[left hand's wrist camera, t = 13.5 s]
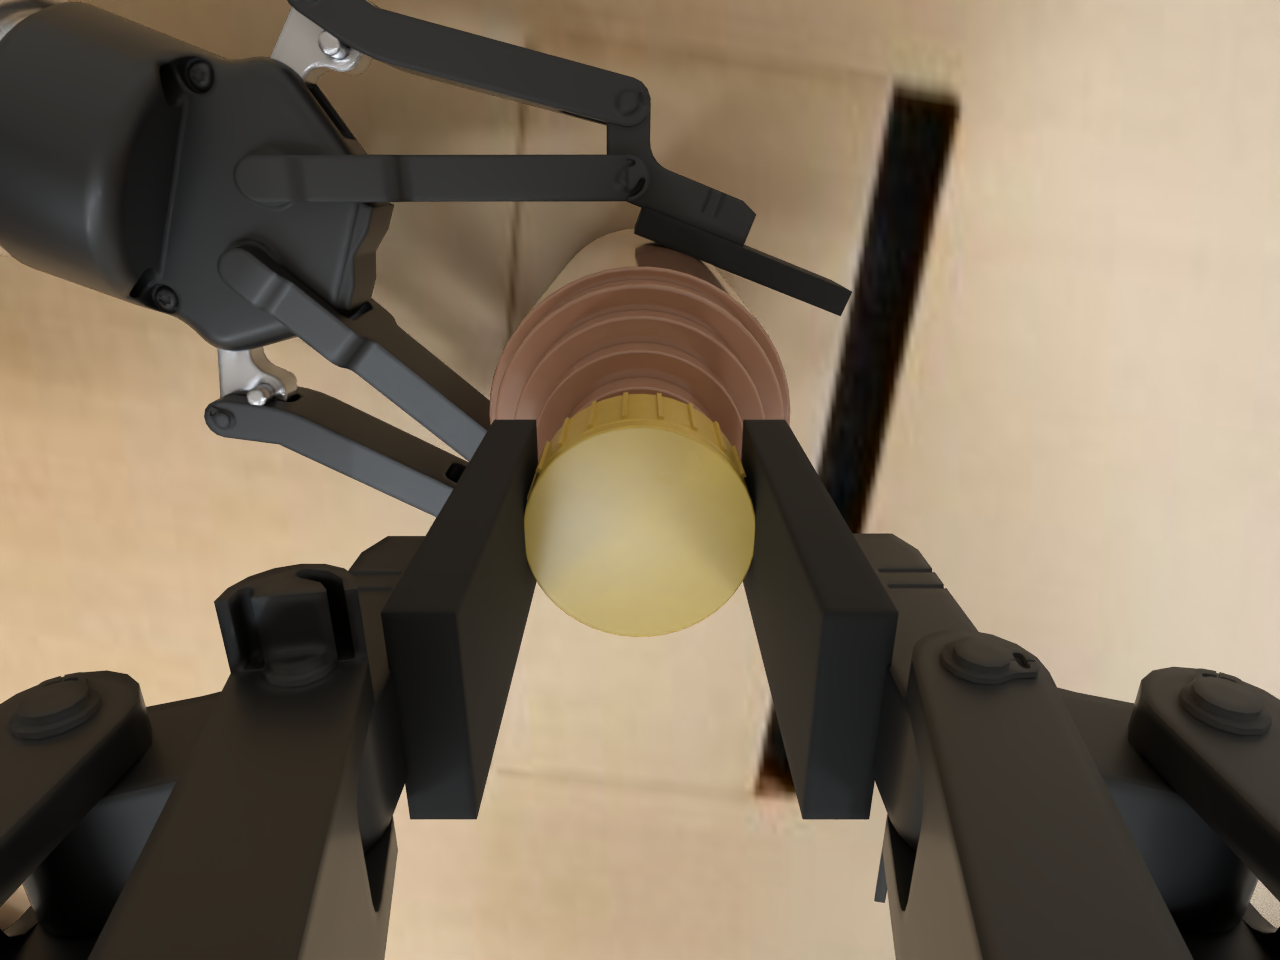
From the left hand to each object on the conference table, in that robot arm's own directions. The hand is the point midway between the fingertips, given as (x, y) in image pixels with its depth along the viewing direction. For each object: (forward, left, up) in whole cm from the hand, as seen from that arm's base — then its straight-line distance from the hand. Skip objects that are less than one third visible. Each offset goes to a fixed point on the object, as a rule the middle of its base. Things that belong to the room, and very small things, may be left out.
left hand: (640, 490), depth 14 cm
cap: (0, 0, +2) cm, 2 cm away
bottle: (0, 0, -17) cm, 17 cm away
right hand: (-5, -2, -11) cm, 12 cm away
